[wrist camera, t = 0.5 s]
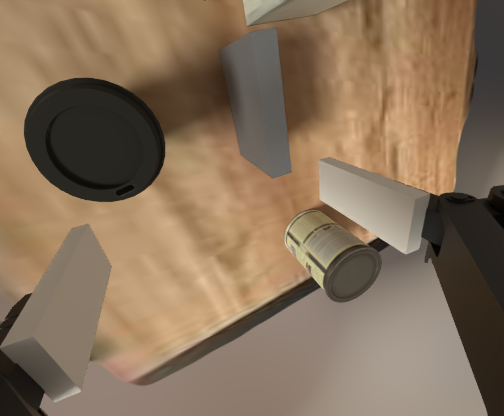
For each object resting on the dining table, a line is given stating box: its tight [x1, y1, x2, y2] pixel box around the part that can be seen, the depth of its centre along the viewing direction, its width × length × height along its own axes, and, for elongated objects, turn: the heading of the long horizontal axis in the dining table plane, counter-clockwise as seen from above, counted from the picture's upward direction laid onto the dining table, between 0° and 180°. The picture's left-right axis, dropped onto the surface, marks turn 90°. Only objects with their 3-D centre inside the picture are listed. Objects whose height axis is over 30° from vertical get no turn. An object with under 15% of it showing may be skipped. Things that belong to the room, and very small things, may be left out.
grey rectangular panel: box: [219, 28, 292, 178], centre depth 30 cm, size 14×3×12 cm, turn 11°
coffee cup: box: [24, 78, 165, 202], centre depth 25 cm, size 10×10×15 cm
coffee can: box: [284, 210, 382, 302], centre depth 44 cm, size 10×10×14 cm
